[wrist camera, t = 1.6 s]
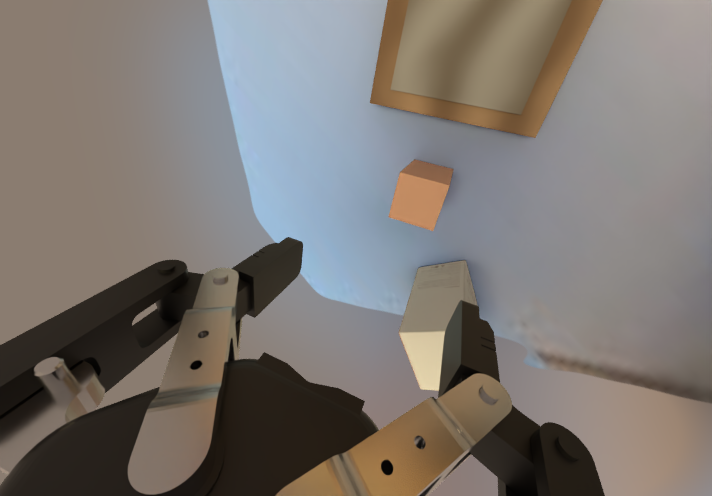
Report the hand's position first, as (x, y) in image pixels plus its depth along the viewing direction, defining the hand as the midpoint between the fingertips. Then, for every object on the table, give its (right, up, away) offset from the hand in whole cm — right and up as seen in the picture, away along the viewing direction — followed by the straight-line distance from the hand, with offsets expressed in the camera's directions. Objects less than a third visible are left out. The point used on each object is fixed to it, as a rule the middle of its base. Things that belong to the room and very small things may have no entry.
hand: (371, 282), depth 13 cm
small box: (+12, -4, +23) cm, 27 cm away
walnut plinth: (+10, +20, +12) cm, 25 cm away
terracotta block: (+8, +9, +18) cm, 22 cm away
